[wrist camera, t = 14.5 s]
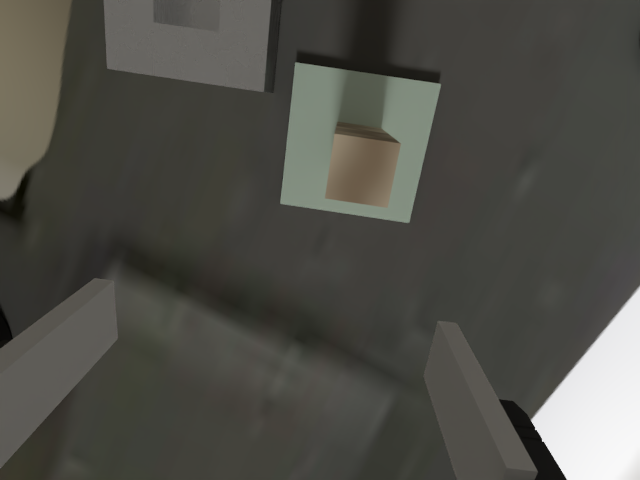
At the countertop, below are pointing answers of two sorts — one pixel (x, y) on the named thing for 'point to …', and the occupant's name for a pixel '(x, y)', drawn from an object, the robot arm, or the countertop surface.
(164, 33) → the hole block
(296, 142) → the pad
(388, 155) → the square peg
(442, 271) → the countertop surface
